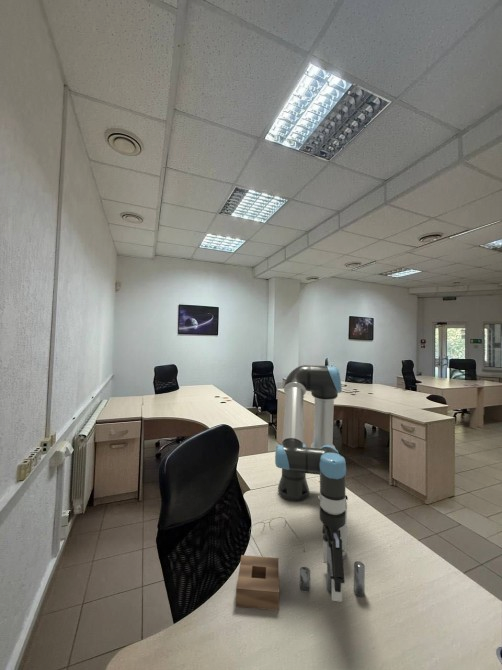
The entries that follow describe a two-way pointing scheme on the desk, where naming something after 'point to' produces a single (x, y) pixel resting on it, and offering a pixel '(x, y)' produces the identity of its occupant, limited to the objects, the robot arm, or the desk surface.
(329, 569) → the long pin
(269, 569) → the collar block
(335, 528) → the robot arm
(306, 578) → the short pin
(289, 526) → the eyeglasses
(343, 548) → the travel mug
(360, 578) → the medium pin
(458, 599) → the desk surface
